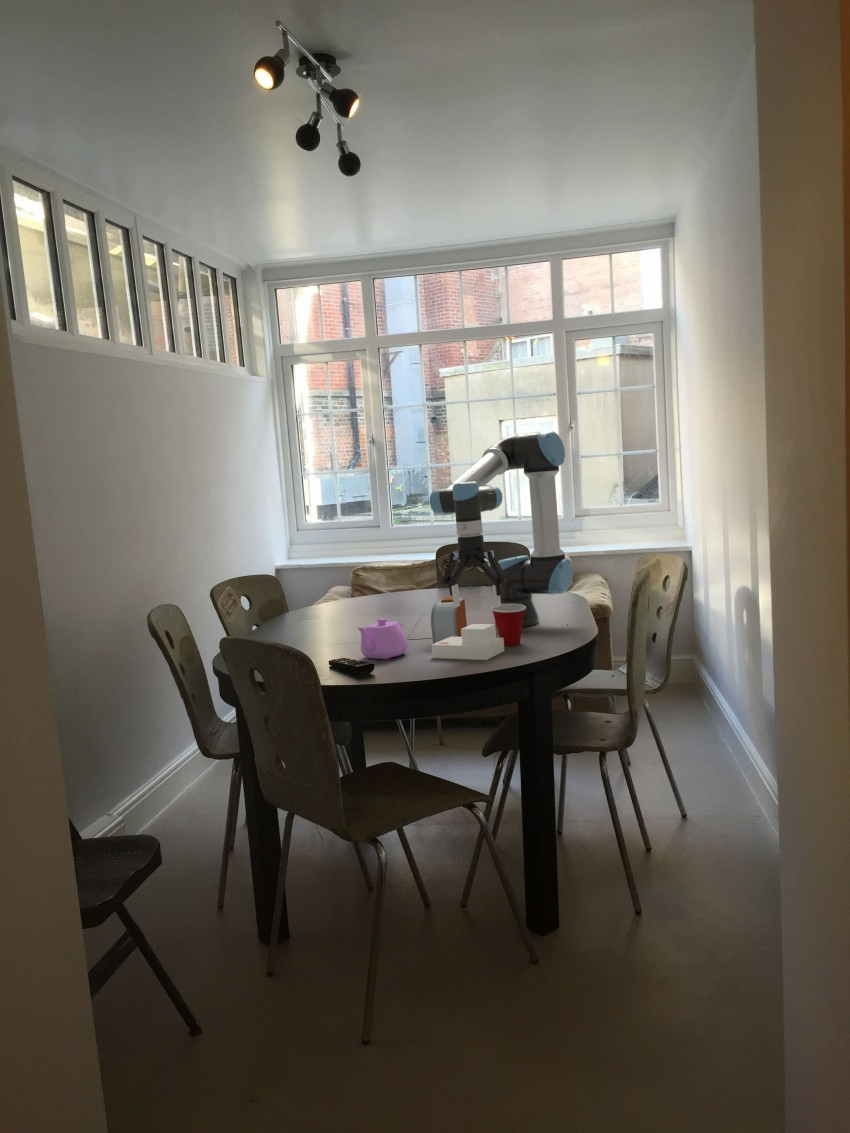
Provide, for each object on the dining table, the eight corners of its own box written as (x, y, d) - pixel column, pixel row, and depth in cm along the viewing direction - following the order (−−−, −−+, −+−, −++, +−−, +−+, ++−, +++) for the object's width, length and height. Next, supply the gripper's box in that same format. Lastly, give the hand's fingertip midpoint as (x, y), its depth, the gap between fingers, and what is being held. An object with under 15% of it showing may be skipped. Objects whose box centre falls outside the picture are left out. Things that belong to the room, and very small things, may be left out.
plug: (463, 653, 263) (460, 628, 262) (474, 648, 269) (472, 624, 269) (485, 654, 259) (483, 629, 258) (497, 649, 266) (495, 624, 265)
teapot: (387, 649, 286) (384, 612, 285) (420, 651, 278) (416, 614, 276) (345, 663, 270) (341, 624, 269) (378, 666, 262) (374, 626, 261)
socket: (451, 649, 276) (450, 636, 276) (504, 650, 267) (503, 637, 266) (432, 658, 266) (431, 644, 266) (486, 659, 257) (485, 646, 256)
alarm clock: (444, 636, 298) (440, 596, 297) (469, 635, 296) (465, 595, 294) (432, 646, 284) (428, 604, 283) (458, 645, 282) (454, 602, 280)
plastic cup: (510, 649, 268) (506, 610, 267) (486, 645, 277) (483, 607, 275) (536, 642, 274) (533, 604, 273) (512, 639, 283) (509, 602, 282)
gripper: (426, 538, 264) (434, 609, 266) (503, 535, 251) (509, 609, 254) (439, 535, 270) (446, 604, 273) (514, 531, 257) (520, 604, 260)
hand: (477, 606), depth 263 cm, fingers open, 13 cm apart
